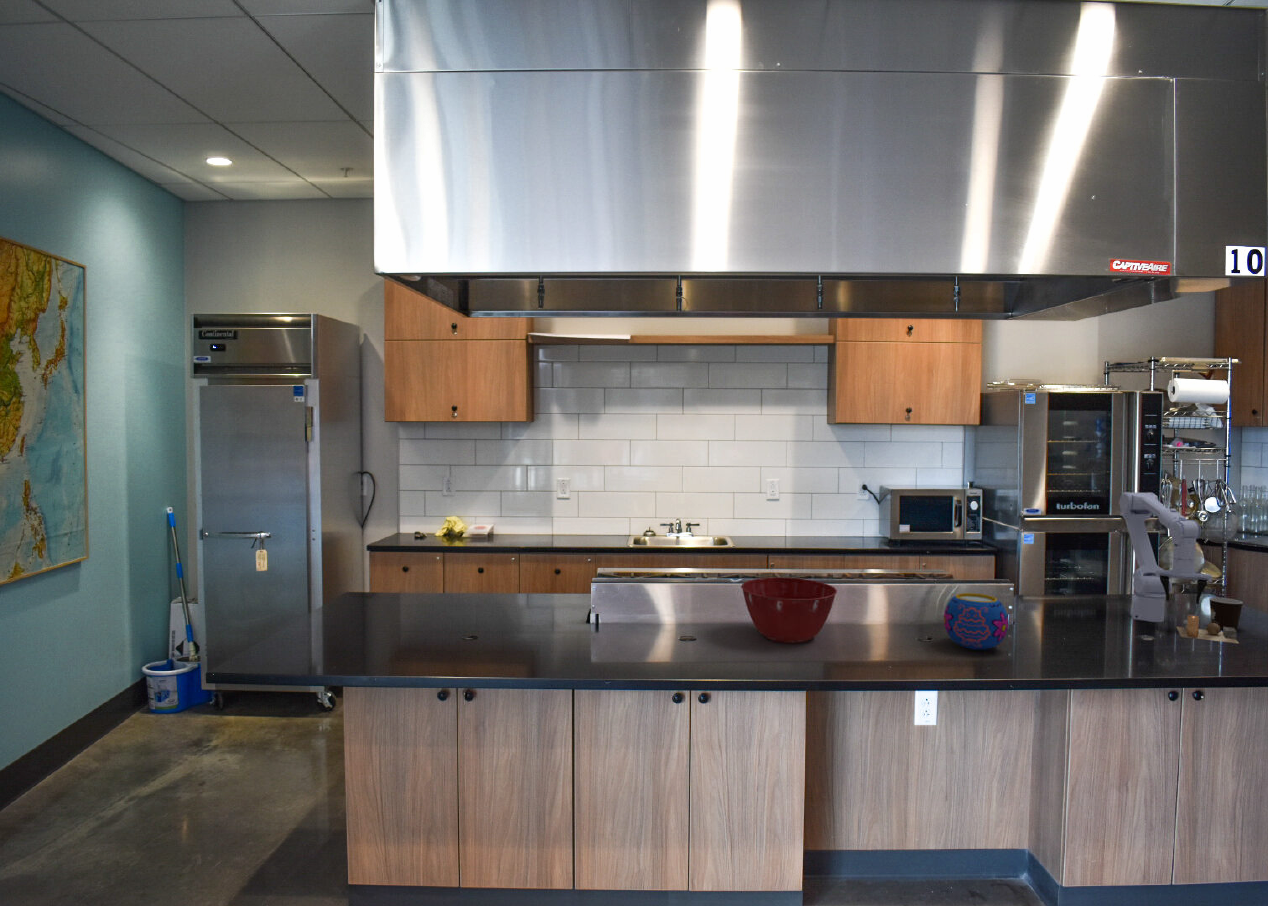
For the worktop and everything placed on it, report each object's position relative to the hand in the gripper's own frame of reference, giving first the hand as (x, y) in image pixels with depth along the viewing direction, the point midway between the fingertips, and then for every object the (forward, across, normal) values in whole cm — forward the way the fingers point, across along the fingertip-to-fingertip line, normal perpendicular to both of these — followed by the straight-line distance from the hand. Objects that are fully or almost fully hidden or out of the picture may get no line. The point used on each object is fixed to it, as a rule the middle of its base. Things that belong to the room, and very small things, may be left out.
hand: (1182, 601), depth 257 cm
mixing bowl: (+11, -100, -77) cm, 126 cm away
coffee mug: (+11, +12, +14) cm, 21 cm away
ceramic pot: (+11, -51, -54) cm, 75 cm away
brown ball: (+8, +6, +1) cm, 10 cm away
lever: (+9, +3, 0) cm, 9 cm away
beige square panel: (+10, +7, 0) cm, 12 cm away
